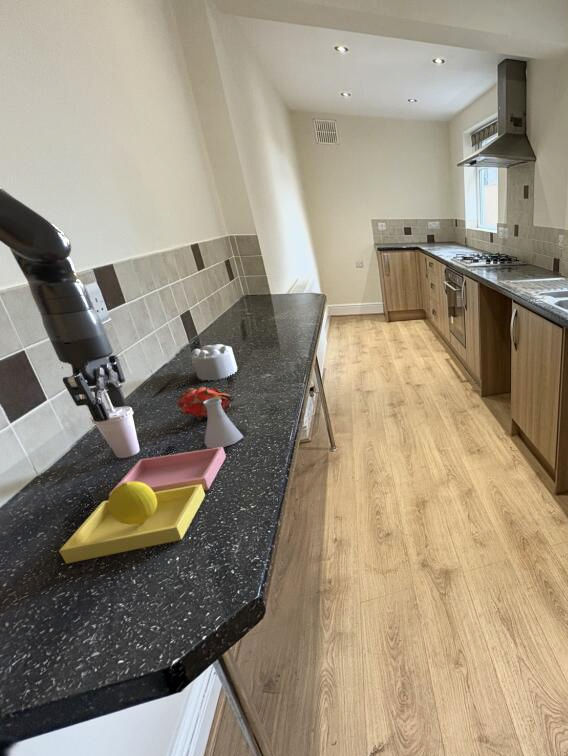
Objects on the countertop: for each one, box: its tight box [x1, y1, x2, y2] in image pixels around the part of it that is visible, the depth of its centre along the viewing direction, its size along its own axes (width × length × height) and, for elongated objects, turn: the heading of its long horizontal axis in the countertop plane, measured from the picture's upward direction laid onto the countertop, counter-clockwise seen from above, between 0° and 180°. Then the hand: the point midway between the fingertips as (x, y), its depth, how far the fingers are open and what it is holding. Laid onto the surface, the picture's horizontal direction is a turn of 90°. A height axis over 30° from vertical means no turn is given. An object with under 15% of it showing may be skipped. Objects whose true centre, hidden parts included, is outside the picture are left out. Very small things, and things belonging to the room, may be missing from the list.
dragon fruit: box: [176, 386, 235, 421], centre depth 102 cm, size 8×8×12 cm
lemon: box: [107, 482, 157, 525], centre depth 65 cm, size 6×6×8 cm
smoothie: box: [90, 391, 141, 459], centre depth 85 cm, size 6×6×14 cm
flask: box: [203, 398, 244, 449], centre depth 90 cm, size 7×7×10 cm
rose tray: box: [108, 447, 227, 497], centre depth 78 cm, size 14×12×2 cm
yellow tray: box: [58, 484, 206, 565], centre depth 66 cm, size 14×12×2 cm
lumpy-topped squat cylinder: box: [190, 343, 238, 382], centre depth 130 cm, size 10×13×9 cm
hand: (111, 412), depth 84 cm, fingers closed on smoothie, 6 cm apart
